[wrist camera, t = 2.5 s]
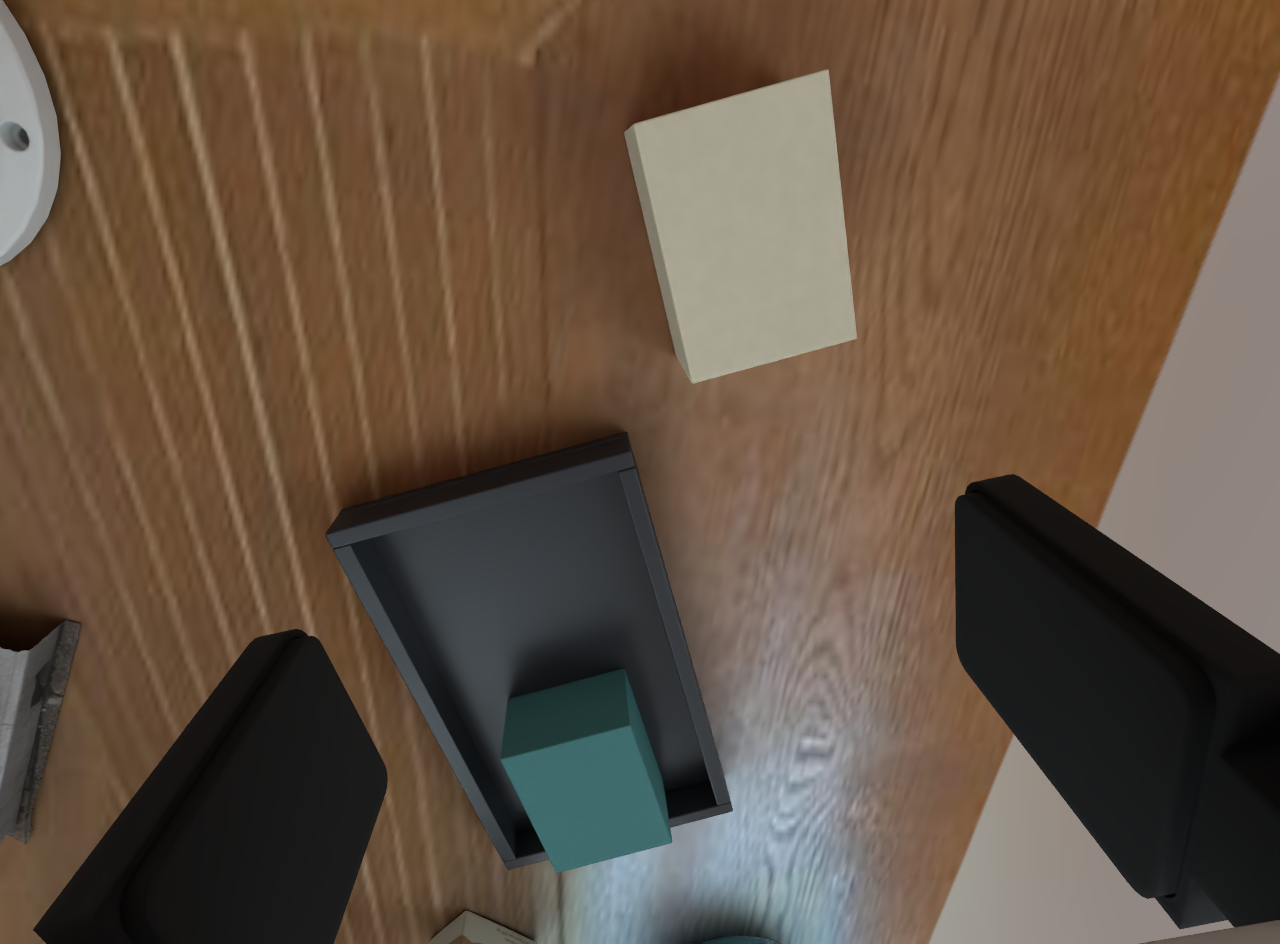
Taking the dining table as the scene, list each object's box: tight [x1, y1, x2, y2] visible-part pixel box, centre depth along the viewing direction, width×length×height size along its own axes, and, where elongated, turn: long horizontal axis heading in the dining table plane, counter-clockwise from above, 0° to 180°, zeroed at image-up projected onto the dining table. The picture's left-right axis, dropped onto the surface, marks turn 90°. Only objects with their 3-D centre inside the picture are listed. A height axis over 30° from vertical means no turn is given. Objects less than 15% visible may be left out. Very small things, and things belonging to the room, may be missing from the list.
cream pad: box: [624, 69, 857, 383], centre depth 24 cm, size 9×6×4 cm
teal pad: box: [500, 668, 672, 873], centre depth 34 cm, size 9×6×4 cm
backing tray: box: [325, 432, 733, 870], centre depth 33 cm, size 24×14×2 cm, turn 14°
